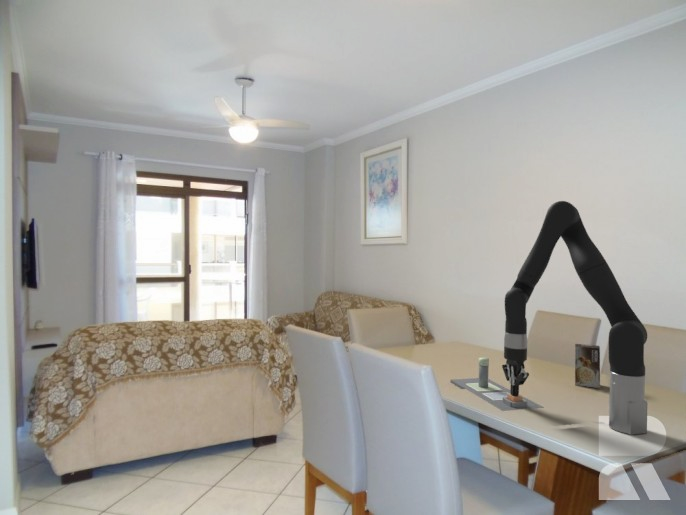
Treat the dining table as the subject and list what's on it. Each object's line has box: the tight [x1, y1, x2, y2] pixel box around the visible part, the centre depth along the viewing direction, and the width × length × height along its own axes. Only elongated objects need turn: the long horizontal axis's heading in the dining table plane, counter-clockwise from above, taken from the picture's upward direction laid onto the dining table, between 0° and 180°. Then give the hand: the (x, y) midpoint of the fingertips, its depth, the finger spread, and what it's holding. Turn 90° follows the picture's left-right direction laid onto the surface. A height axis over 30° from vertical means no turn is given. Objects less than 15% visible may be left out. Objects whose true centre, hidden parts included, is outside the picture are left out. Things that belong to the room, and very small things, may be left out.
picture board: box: [450, 377, 545, 412], centre depth 177 cm, size 38×16×3 cm, turn 13°
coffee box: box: [574, 343, 601, 389], centre depth 192 cm, size 9×6×16 cm
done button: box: [507, 394, 524, 402], centre depth 164 cm, size 4×4×2 cm
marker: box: [478, 357, 490, 388], centre depth 184 cm, size 4×4×11 cm
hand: (514, 395), depth 164 cm, fingers closed
